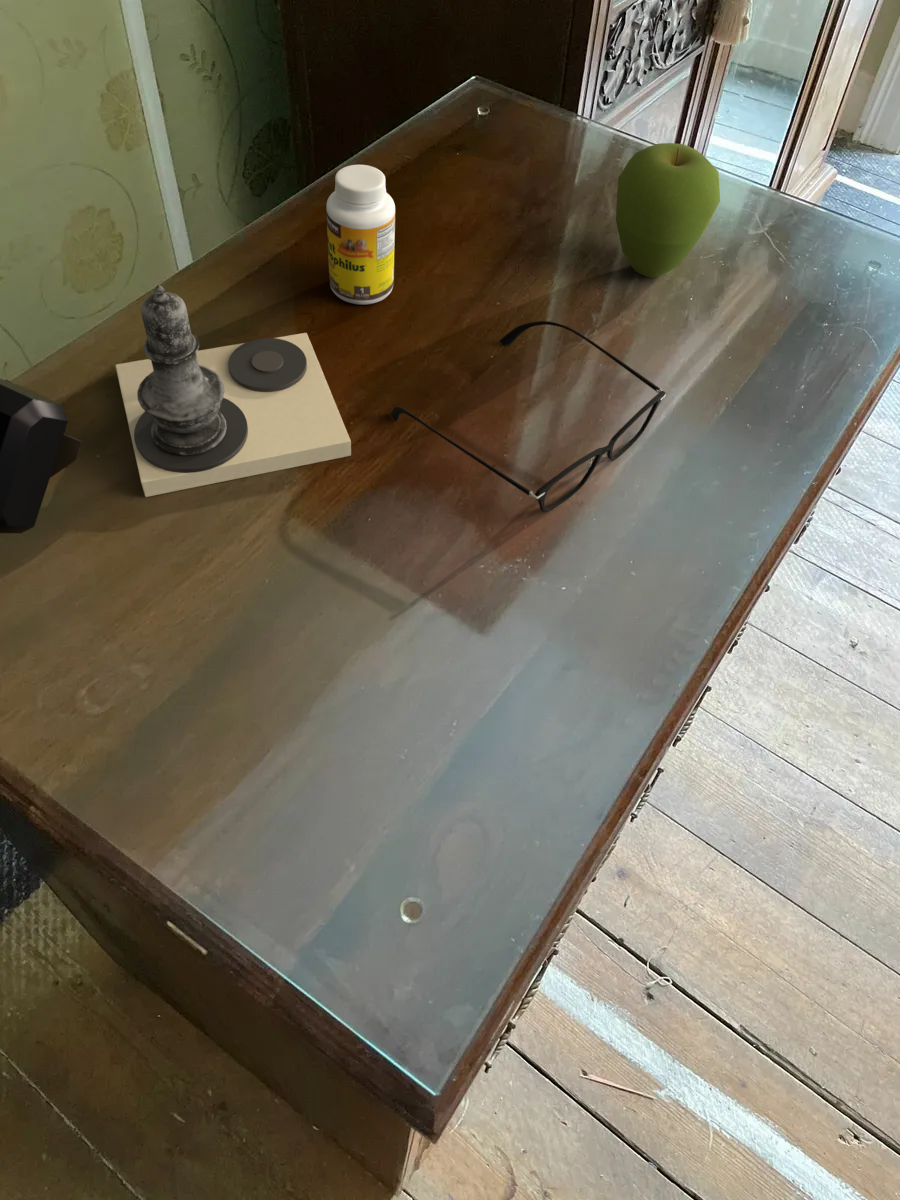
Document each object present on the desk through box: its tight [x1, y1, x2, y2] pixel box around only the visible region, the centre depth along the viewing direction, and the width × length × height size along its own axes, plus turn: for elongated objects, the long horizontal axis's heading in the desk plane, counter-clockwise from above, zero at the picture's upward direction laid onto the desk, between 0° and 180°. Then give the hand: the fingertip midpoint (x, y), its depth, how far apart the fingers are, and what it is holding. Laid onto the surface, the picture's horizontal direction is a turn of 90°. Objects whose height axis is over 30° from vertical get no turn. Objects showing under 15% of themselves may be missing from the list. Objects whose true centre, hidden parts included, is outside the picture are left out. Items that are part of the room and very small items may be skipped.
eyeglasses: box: [390, 320, 667, 513], centre depth 72 cm, size 16×16×4 cm
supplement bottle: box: [325, 164, 396, 306], centre depth 79 cm, size 6×6×10 cm
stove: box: [114, 332, 352, 498], centre depth 72 cm, size 15×13×2 cm
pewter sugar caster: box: [137, 284, 227, 455], centre depth 64 cm, size 6×6×12 cm
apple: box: [615, 142, 721, 279], centre depth 83 cm, size 9×8×12 cm
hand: (10, 418), depth 52 cm, fingers open, 9 cm apart
